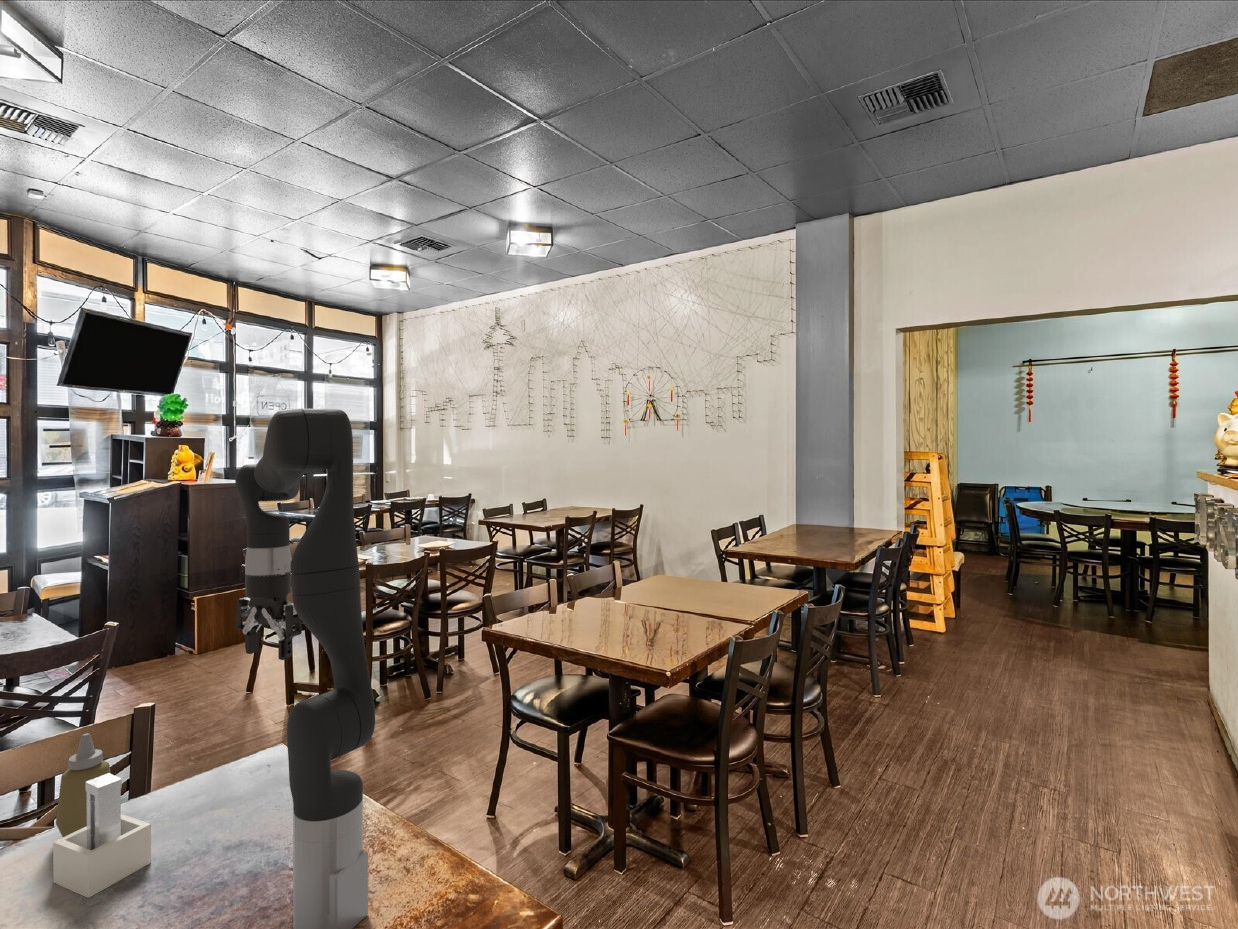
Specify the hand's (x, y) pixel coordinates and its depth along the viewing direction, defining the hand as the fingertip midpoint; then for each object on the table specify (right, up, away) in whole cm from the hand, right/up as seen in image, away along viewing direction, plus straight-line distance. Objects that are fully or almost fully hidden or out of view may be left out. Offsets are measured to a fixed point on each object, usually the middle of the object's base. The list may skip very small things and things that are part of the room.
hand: (268, 655), depth 118 cm
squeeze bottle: (-29, -30, -6) cm, 42 cm away
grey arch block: (-18, -29, -16) cm, 38 cm away
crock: (-18, -30, -16) cm, 39 cm away
